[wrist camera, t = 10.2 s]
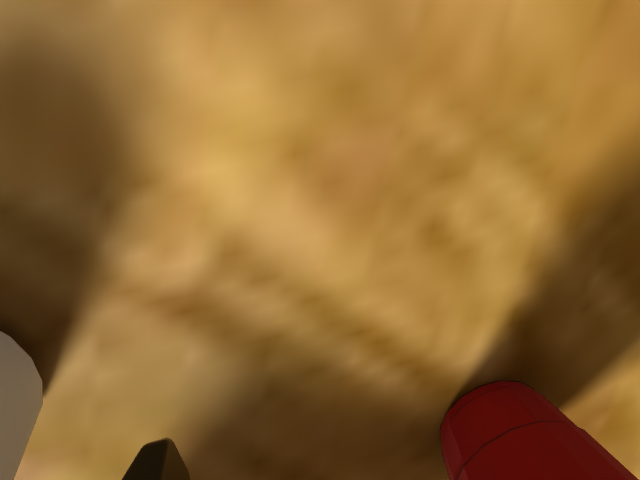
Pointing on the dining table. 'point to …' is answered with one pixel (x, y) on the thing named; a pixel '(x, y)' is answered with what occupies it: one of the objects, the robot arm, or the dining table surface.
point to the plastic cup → (520, 439)
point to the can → (16, 404)
